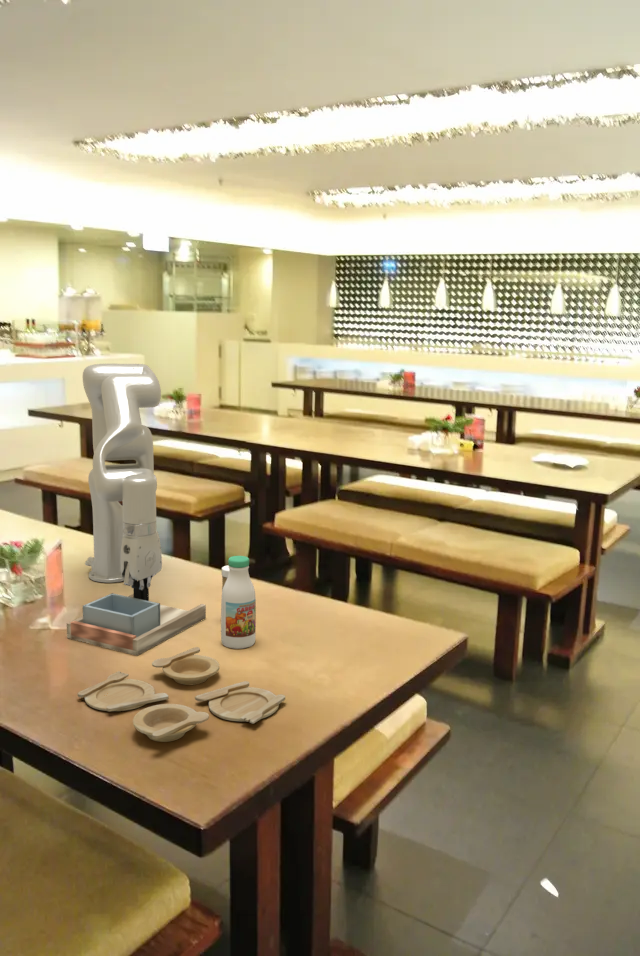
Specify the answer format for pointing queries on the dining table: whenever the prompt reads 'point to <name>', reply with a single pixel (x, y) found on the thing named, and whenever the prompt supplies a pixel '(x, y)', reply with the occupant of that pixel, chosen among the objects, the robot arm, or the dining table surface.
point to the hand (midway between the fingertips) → (141, 603)
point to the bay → (128, 643)
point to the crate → (122, 614)
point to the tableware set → (176, 718)
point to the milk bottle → (238, 606)
